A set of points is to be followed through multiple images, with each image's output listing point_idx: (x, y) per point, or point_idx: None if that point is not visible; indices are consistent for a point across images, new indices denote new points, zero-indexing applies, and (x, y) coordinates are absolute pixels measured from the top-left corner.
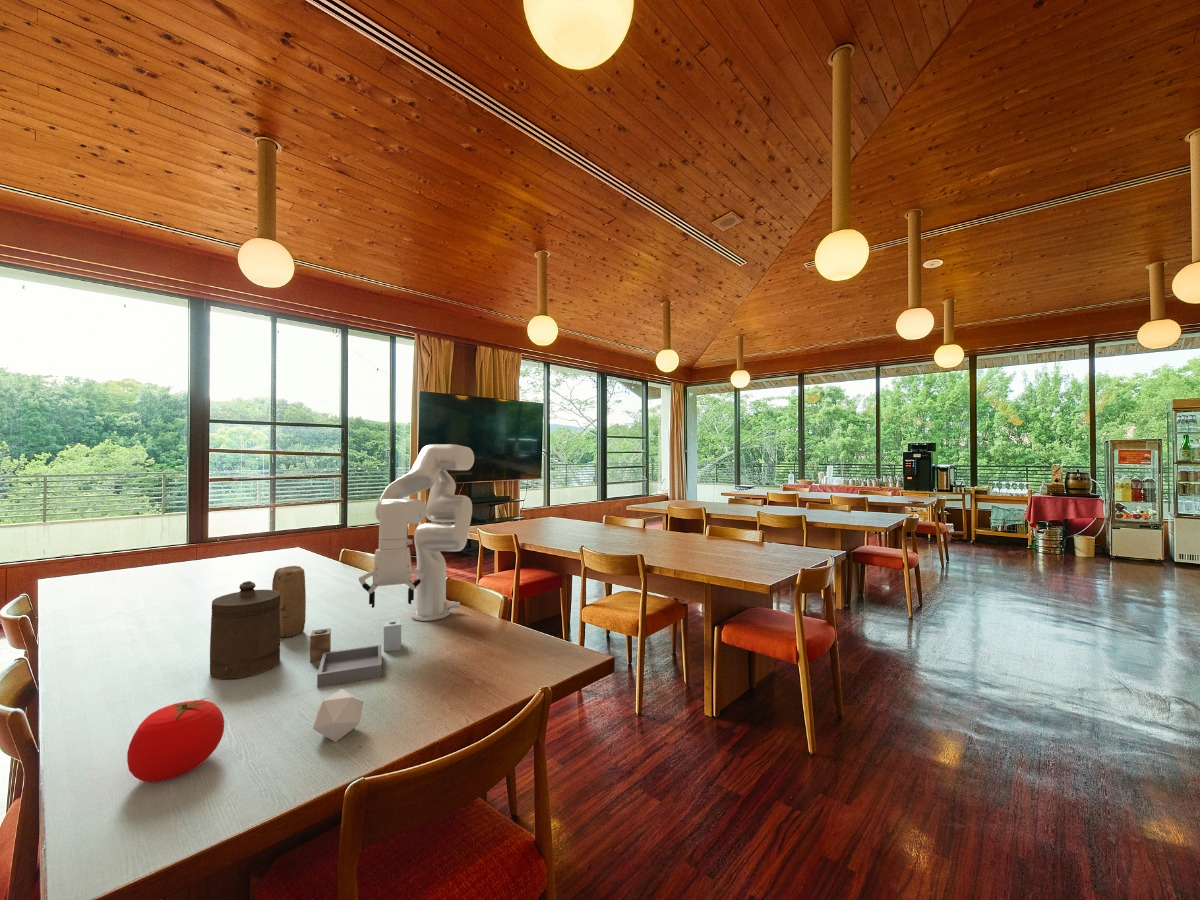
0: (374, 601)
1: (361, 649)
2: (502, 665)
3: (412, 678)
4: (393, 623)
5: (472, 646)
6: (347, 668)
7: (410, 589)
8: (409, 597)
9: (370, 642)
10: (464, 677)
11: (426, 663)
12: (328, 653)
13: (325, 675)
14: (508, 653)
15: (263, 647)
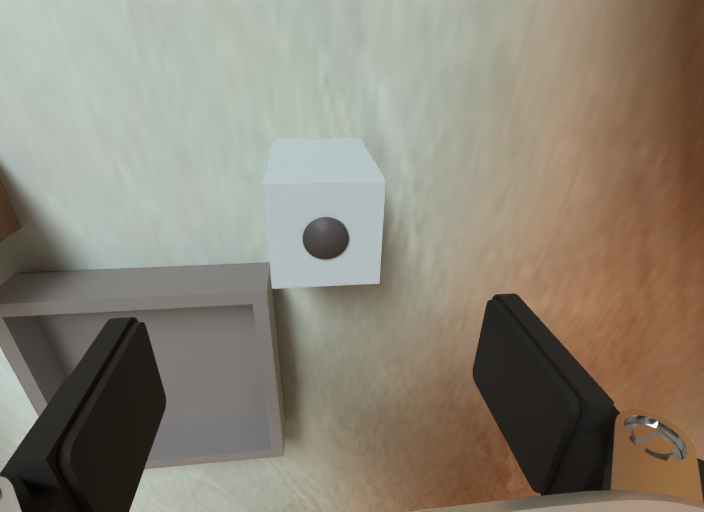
0: (147, 453)
1: (175, 305)
2: None
3: (372, 444)
4: (331, 255)
5: (622, 288)
6: None
7: (569, 486)
8: (505, 430)
9: (186, 41)
10: (496, 463)
11: (429, 373)
12: (14, 315)
13: None
14: (675, 372)
15: None
